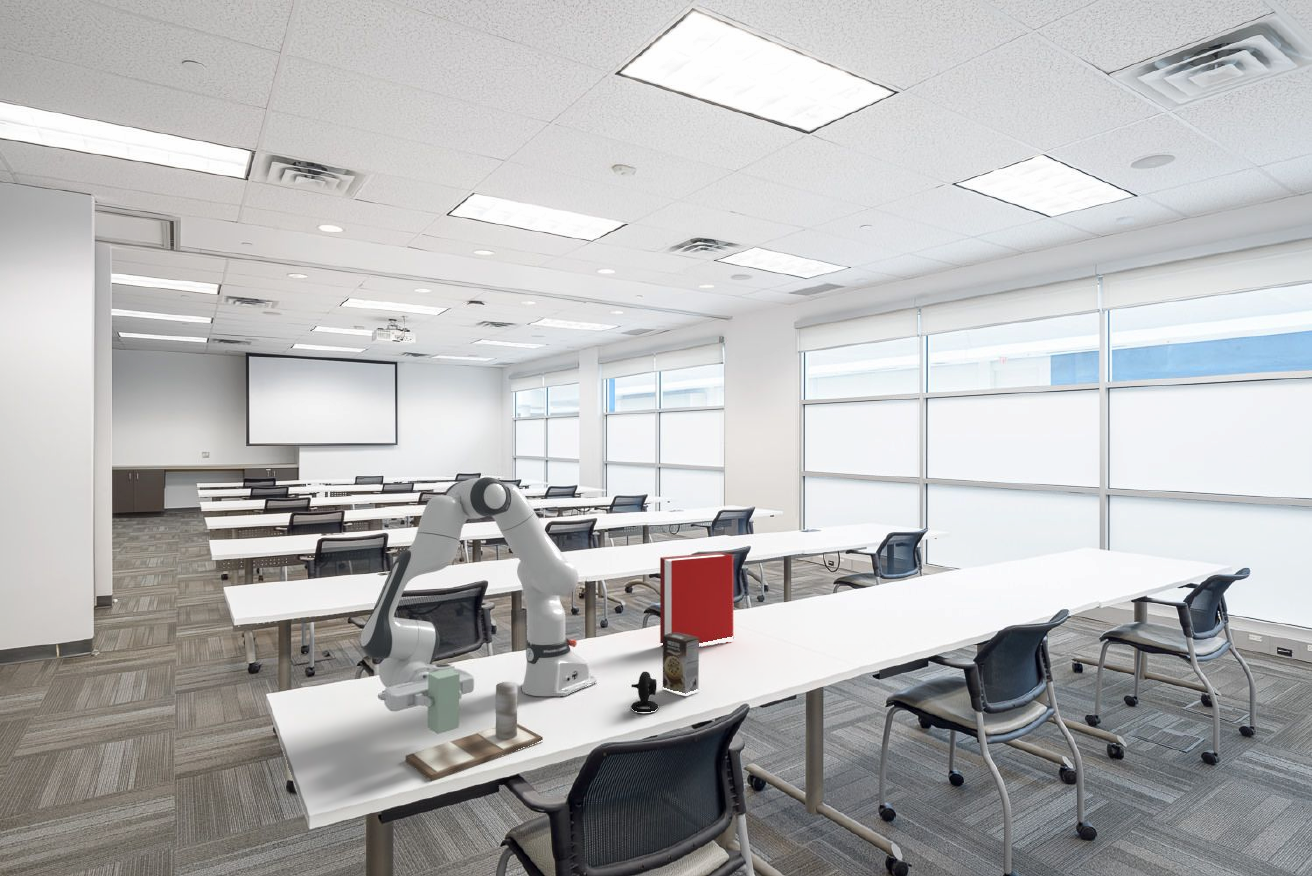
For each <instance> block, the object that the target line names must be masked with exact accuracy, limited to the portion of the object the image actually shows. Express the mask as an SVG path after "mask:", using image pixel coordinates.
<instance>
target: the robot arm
mask: <svg viewBox="0 0 1312 876" xmlns="http://www.w3.org/2000/svg"><path fill="white" fill-rule="evenodd" d="M489 517H490V518H492V519H494V521H495V524H496V525H497V528H498V529H499V531H500V532H501V534H502V536H503V537H504V540H505V542H506V543H507V545H508V547H509V548H510V550H511V552H512V553H513V554H514V555H515V556H516V558H517V559H519V563H518V565H517V569H516V573H517V574H516V575H517V577H518V579H519V581H520V582H519V583H520V584H521V587H522V588H521V589H522V592H523V597H524V598H523V599H524V602H525V607H526V614H527V640H526V643H525V644H526V645H525V655H526V657H525V658H526V666H525V667H526V668H525V674H524V679H523V683H522V687H521V691H522V693H524V694H526V695H530V696H534V697H560V696H564V697H566V696H565V695H567V694H569V693H571V692H573V691H577V690H579V689H581V688H583V687H585V686H587V685H588V684H593V683H595V682H596V681H597V678H596V677H595V676H594V675H592V674H590V672H589V671H590V670H589V667H588V663H587V661H586V660H585V659H584V658H582V657H581V656H579V655H578V654H576V653H575V652H574V651H572V650H571V647H572V648H575V647H577V644H578V641H577V640H576V639H572V638H571V639H568V638H567V637H566V611H565V609H564V607H563V605H562V601H561V598H560V597H567V596H569V595H570V594H572V593H574V591H575V589H576V588H577V585H578V582H579V573H578V570H577V569H576V567H575V566H574V565H573V564H572V563H571V562H569V561H568V559H567V558H566V556H565V555H564V554H563V553H562V551H561V550H560V549H559V547H558V546H557V544H555V542H554V541H553V540H552V539H551V537H550V536H549V535H548V533H547V532H546V530H545V529H544V526H543V524H542V522H541V521H540V519H539V518H538V515H537V513H536V512H535V510H534V508H533V506H532V504H531V503H530V501H529V500H528V498H527V497H526V495H525V494H524V493H523V492H522V491H521V489H520V488H519V486H517V485H516V484H513V483H504V482H502V481H501V480H500V479H497V478H494V477H474V478H469V479H467V480H463V481H458V482H455V483H452V484H451V485H450V486H449V487H448V488H447V489H446V490H445V491H444V494H443V495H442V494H441V495H437V496H433V497H431V498H430V499H429V500H428V501H427V503H426V506H425V507H424V510H423V512H422V515H421V518H420V520H419V524H418V526H417V530H416V534H415V537H414V540H413V542H412V543H411V545H410V546H409V548H407V550H405V551H404V550H403V551H402V552H400V553H399V555H398V556H396V559H395V560H394V563H393V564H392V567H391V568H390V571H389V572H388V575H387V577H386V579H385V581H384V585H383V586H382V589H381V592H380V593H379V596H378V598H377V600H376V603H375V606H373V607H374V608H373V610H372V611H371V613H370V615H369V618H368V619H367V620H366V621H365V624H364V627H363V628H362V630H361V632H360V637H359V646H360V648H361V650H362V651H363V652H364V654H365V655H366V656H367V657H368V658H369V659H371V660H373V659H375V660H378V659H379V660H381V659H383V660H382V661H381V662H380V664H379V668H378V676H379V679H380V682H381V683H382V685H383V686H384V687H385V689H384V690H382V691H381V692H379V693H378V694H377V698H378V699H379V700H380V701H384V706H385V707H386V709H388V710H389V711H390V712H400V711H403V710H407V709H411V708H416V707H418V706H420V707H422V706H425V707H427V708H428V707H431V706H434V705H435V703H434V702H435V699H434V697H432V696H429V697H428V674H429V673H433V672H438V671H442V670H447V669H450V670H452V671H454V672H456V673H458V674H460V677H459V700H461V699H462V695H466V694H470V693H472V692H474V689H475V677H474V675H473V674H471V673H469V672H468V671H466V670H463V669H461V668H455V667H456V666H455V664H453V663H445V664H442V663H441V664H433V662H434V661H435V659H436V657H437V655H438V651H439V649H440V648H439V647H440V642H441V641H440V640H441V639H440V635H439V632H438V630H437V627H436V626H435V625H434V623H433V622H432V621H425V620H419V619H408V618H402V617H395V613H396V610H397V608H398V605H399V602H400V600H401V598H402V595H403V594H404V591H405V588H406V586H407V585H408V583H409V582H410V581H411V580H412V579H414V578H416V577H419V576H422V575H425V574H426V575H427V574H430V573H435V572H438V571H441V570H443V569H445V568H447V567H448V566H450V565H451V564H452V563H453V562H454V559H455V558H456V555H457V553H458V550H459V545H460V539H461V535H462V529H463V527H464V524H465V522H466V521H467V520H479V519H481V518H489ZM595 684H596V683H595ZM593 685H594V684H593ZM581 690H582V689H581ZM579 691H580V690H579ZM577 692H578V691H577ZM567 696H568V695H567Z"/></svg>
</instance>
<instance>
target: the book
mask: <svg viewBox="0 0 1312 876" xmlns="http://www.w3.org/2000/svg"><path fill="white" fill-rule="evenodd" d="M659 564H660V565H659V566H660V567H659V569H660V570H659V571H660V572H659V574H660V575H659V576H660V577H659V578H660V581H659V582H660V583H659V584H660V585H659V587H660V589H659V593H660V596H659V597H660V599H659V600H660V601H659V603H660V604H659V605H660V609H659V612H660V613H659V614H660V615H659V616H660V624H659V625H660V626H659V630H660V631H659V636H660V637H659V638H660V641H659V644H660V643H663V635H666V634H669V633H674V632H679V633H683V634H687V635H691V636H695V637H699V643H703V642H708V641H713V640H717V639H722V638H727V637H732V636H733V637H734V554H732V553H728V552H709V553H697V554H696V553H695V554H685V555H675V556H663V557H660V558H659Z"/></svg>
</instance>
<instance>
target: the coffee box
mask: <svg viewBox="0 0 1312 876" xmlns="http://www.w3.org/2000/svg"><path fill="white" fill-rule="evenodd" d="M699 655H700V648H699V637H695V636H691V635H687V634H683V633H679V632H674V633H669V634H666V635H663V646H662V688H663V687H664V688H667V689H670V690H673V691H679V692H682V693H685V694H686V693H688V692H690V691H694V690H696V689H698V690H699V686H700V685H699V681H700V680H699V674H700V673H699V671H700V670H699V663H700V662H699V661H700V656H699Z"/></svg>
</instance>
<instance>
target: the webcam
mask: <svg viewBox="0 0 1312 876" xmlns="http://www.w3.org/2000/svg"><path fill="white" fill-rule="evenodd" d="M631 688H635V689H637V695H638V698H639V700H636V701H634V702H633V703H631V705H630V709H631V708H632V709H633V710H634V711H637V712H651V711H655V710H656V709H657V708H658V706H659V704H658V703H657V702H655V701H653V700H649V698H650V696H656V694H657V679H655V678H652V677H651V674H650V672H648V671H642V672H641V673H640V676H639V679H638V683H636V684H631ZM641 706H644V707H647V708H643V707H641ZM632 709H631V710H632ZM658 709H659V708H658Z"/></svg>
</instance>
